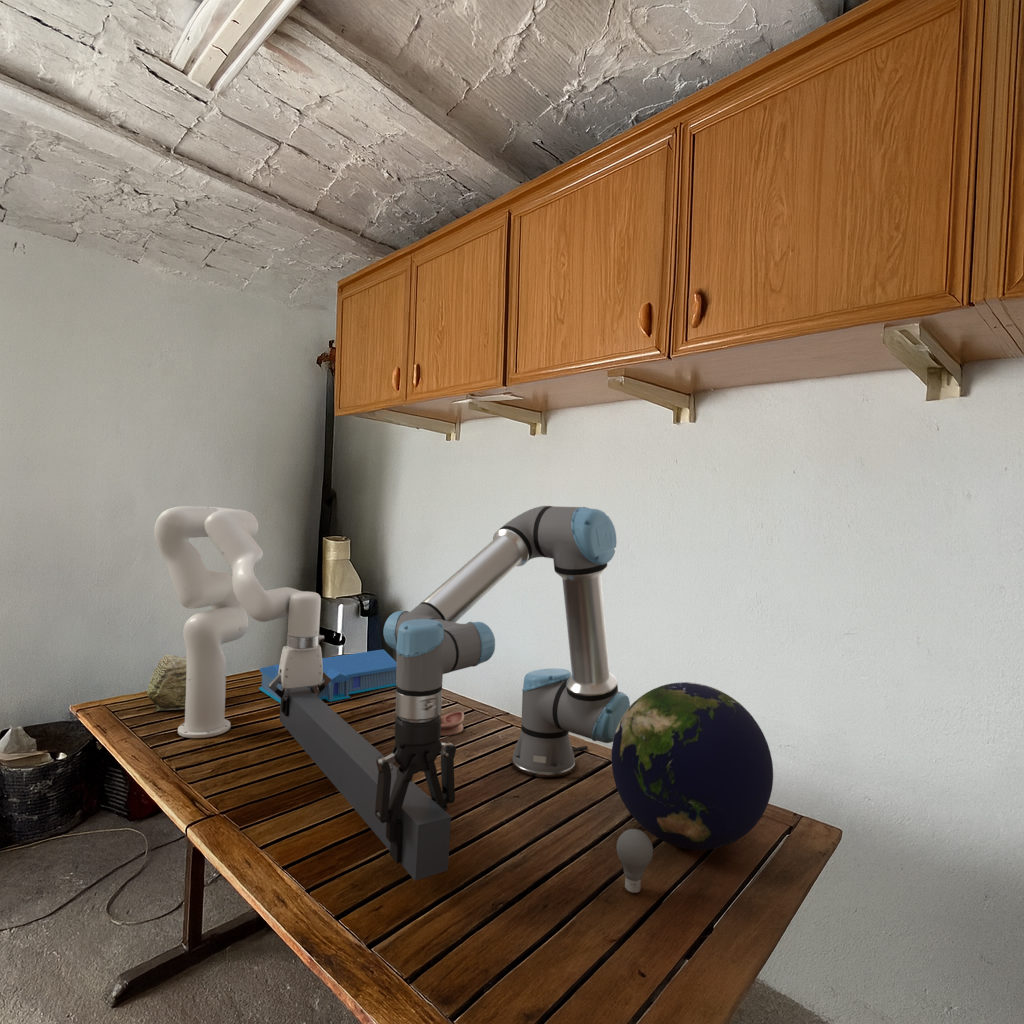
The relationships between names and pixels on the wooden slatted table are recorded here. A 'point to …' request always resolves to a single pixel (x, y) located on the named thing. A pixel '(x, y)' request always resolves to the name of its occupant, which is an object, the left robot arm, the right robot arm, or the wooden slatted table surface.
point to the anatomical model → (452, 723)
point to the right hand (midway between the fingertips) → (414, 852)
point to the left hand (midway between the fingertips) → (298, 711)
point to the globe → (692, 766)
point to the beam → (368, 782)
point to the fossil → (169, 683)
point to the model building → (346, 675)
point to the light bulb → (634, 857)
